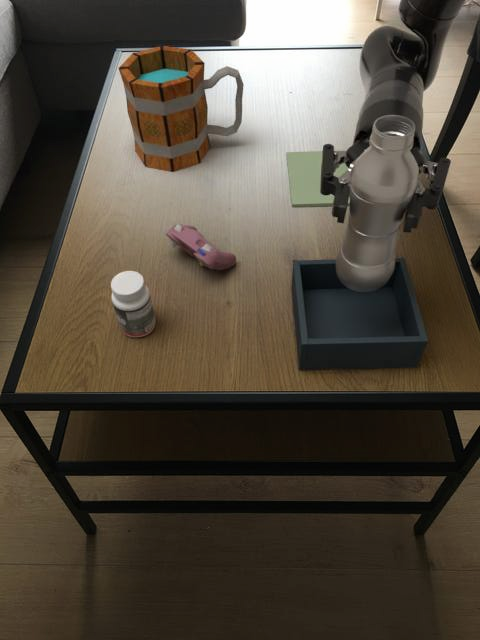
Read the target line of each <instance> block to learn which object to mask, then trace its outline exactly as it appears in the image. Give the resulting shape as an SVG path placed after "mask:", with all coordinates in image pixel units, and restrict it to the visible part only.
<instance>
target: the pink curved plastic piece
mask: <svg viewBox="0 0 480 640" xmlns="http://www.w3.org/2000/svg"><path fill="white" fill-rule="evenodd" d="M165 235H166V236H167V237H168V239H169V240H170V241H169V242H168V243H169V245H170V247H172V248H176V246H178V247H180V248H181V249H182V250H183V251H184V252H186V253H187V254H188V255H190V256H191V257H192V258H196V260H197V261H198V262H199V263H198V264H199V266H201V267H204V266H205V267H206V268H207V269H210V270H227V269H230V268H231V267H232V268H233V266H234V265H236V262H237V256H236V254H234V253H233V252H227V251H221V250H220V249H218V248H217V247H215V246H214V244H212V243H211V242H209V240H207V239H206V238H205V237H204V235H203V234H202V233H201V232H200V231H198V229H197V227H195V226H194V225H186V224H183V223H179V222H178V223H176V224H175V225H173V226H171V227H170V228H169V229H168V230H167V232H165Z"/></svg>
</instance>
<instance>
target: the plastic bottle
mask: <svg viewBox="0 0 480 640" xmlns="http://www.w3.org/2000/svg"><path fill="white" fill-rule="evenodd" d="M414 133H415V124H414V123H413V121H411V120H410V119H408V118H406V117H403V116H399V115H387V116H382V117H380V118H378V119H377V120H376V121H375V122H374V125H373V130H372V134H371V136H370V142H369V143H370V147H369V148H368V149H366V150H365V151H364V152H363V153H362V154H361V155H360V156H359V157H358V159H357V160H356V161H355V163H354V165H353V167H352V169H351V174H350V205H349V211H348V219H347V226H346V229H345V232H344V235H343V239H342V243H341V244H340V247H339V249H338V252H337V254H336V257H335V259H336V262H335V264H336V274H337V276H338V278H339V280H340V281H341V282H342V283H343V284H344V285H345V286H346V287H348V288H349V289H351V290H354V291H358V292H370V291H374V290H377V289H379V288H380V287H382V286H384V285H385V284H386V283H387V282H388V280H389V279H390V277H391V275H392V273H393V271H394V268H395V258H396V248H397V241H398V236H399V231H400V227H401V226H402V222H403V220H404V217H405V211H406V209H407V207H408V204H409V202H410V200H411V198H412V196H413V194H414V191H415V189H416V187H417V184H418V181H420V174H419V168H418V165H417V162H416V160H415V158H414V156H413V155H412V153H411V152H410V150H411V149H412V146H413V142H414V139H413V137H414Z"/></svg>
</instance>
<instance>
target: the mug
mask: <svg viewBox="0 0 480 640" xmlns="http://www.w3.org/2000/svg"><path fill="white" fill-rule="evenodd" d="M118 71H119V75H120V77H121V81H122V83H123V87H124V93H125V100H126V110H127V115H128V119H129V121H130V126H131V128H132V133H133V138H134V140H133V141H134V152H135V153H136V154H137V156H138V158H139V160H140V161H141V162H142V164H143V166H144V167H146V168H150V169H156V170H162V171H167V172H171V173H173V172H176V171H179V170H184V169H185V168H190V167H193V166H196V165H199V164H201V163H202V161H203V160H204V158H205V156H206V155H207V154H208V153H209V152H208V151H209V150H210V148H211V142H210V136H209V135H216V136H217V135H218V136H223V137H230V136H233V135H234V134H236V133H238V131H239V128H240V127H241V124H242V121H243V97H244V87H245V86H244V81H243V79H242V76H241V74H240V71H239V70H238V69H236V68H233V67H232V66H228V65H226V66H224V67H222V68H219V69H217V70H216V71H215V72H214V74H213V75H212V76H211V77H209V78H207V79H205V62H204V61H203V60H202V58H200V57H199V56H198V55H197V54H196V53H195V52H194V51H193V49H191V48H190V49H189V48H182V47H175V46H168V45H160V46H156V47H152V48H148V49H143V50H139V51H135V52H132V53H131V54H130V55H129V57H127V58H126V59H125V61H124V62H122V64H121V65H120V66H119V67H118ZM227 76H229V77H232V78H234V79H235V83H236V91H235V92H236V93H235V99H234V100H235V101H234V103H235V104H234V105H235V107H234V109H235V120H234V122H233V124H232V125H230V126H227V127H225V126H221V125H215V124H208V111H209V106H208V102H207V96H206V90H208V89H212V88H214V87H215V86H216V85H217V83H219V81H220V80H222V79H223V78H225V77H227Z"/></svg>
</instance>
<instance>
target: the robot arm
mask: <svg viewBox="0 0 480 640" xmlns="http://www.w3.org/2000/svg"><path fill="white" fill-rule="evenodd" d="M466 2H467V0H400V1H399V4H398V15H399V18H400V20H401V22H402V24H404V26H405V27H406V28H407V29H408V30H410V31H411V32H409V31H407V30H404V29H401V28H398V27H396V26H393V25H382V26H379V27H377V28H375V29H374V30H373V31H371V32H370V34H368V35H367V38H366V39H365V41H364V42H363V45H362V48H361V51H360V55H359V65H358V66H359V74H360V76H359V77H360V80H361V83H362V86H363V89H364V92H365V95H364V101H363V103H362V105H361V107H360V110H359V112H358V113H359V114H358V119H357V122H356V126H355V132H354V137H353V141H352V145H351V146H349V147H348V148H347V149H346V150H347V151H344V150H335V146H334V144H331V143H325V144H323V146H322V151H323V153H322V162H321V185H320V193H321V194H322V195H330V194H332V195H334V201H333V206H332V208H331V215H332V218H337V219H336V223H337V224H338V223H339V224H345V220H346V216H347V215H346V214H347V210H348V206H349V205H348V199H349V197H350V174H351V169H352V167H353V165H354V163H355V161H356V160H357V159H358V157H359V156H360V155H361V154H362V153H363V152H364V151H365V150H366V149H368V148H369V147H370V143H369V142H370V136H371V134H372V130H373V125H374V122H375V121H376V120H377V119H378V118H380V117H382V116H387V115H399V116H403V117H406V118H408V119H410V120H411V121H413V123H414V124H415V133H414V137H413V139H414V142H413V146H412V149H411V150H410V152H411V153H412V155H413V156H414V158H415V160H416V162H417V165H418V168H419V175H421V174H422V173H423V174H424V175H425V178H426V179H427V180H428V181H427V184H429V185H431V186H430V187H427V188H425V187H424V185H423V183H422V181H420V180H419V181H418V184H417V187H416V189H415V191H414V194H413V196H412V198H411V200H410V202H409V204H408V207H407V209H406V211H405V213H404V217H403V229H402V232H403V233H407V234H408V233H409V234H411V232H412V229H415V230H416V229H417V228H418V227H419V226H420V222H421V219H422V215H423V208H426V209H428V210H431V211H435V210H437V209H438V207H439V203H440V200H441V197H442V194H443V191H444V188H445V184H446V182H447V181H446V180H447V177H448V173H449V170H450V166H451V163H452V161H451V159H450V158H448V157H440V158H439V159H438V162H434V161H431V160H425V157H424V155H423V154H422V151H421V148H422V137H423V128H424V127H423V126H424V107H423V104H424V103H423V101H424V92H425V91H426V90H428V89H429V88H430V87H431V85H432V84H433V83H434V81H435V79H436V77H437V73H438V70H439V66H440V61H441V59H442V55H443V50H444V47H445V44H446V41H447V39H448V36H449V33H450V31H451V29H452V26H453V25H454V22H455V21H456V19H457V17H458V16H459V13H460V12H461V10H462V9H463V7H464V5H465V4H466ZM342 163H345V164H346V166H347V167H348V168H349V169H348V170H347V171H346V172H345V173H344V174H342V175H341V176H340V177H339V178H338V177H336V176H333V175H334V172H336V169H337V168H339V166H340V164H342Z"/></svg>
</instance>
